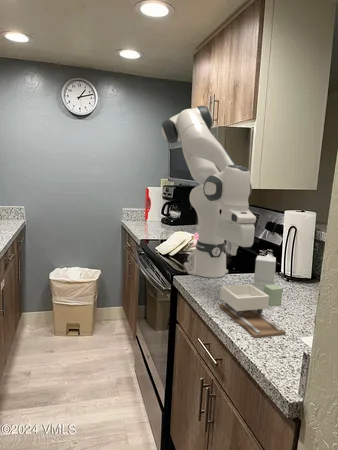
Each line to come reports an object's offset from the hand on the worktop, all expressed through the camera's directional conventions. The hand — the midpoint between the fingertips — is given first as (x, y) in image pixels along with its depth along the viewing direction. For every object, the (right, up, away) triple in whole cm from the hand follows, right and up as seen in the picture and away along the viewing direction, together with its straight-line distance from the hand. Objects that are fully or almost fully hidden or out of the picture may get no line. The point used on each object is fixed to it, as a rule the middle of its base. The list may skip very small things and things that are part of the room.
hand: (231, 254), depth 118 cm
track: (+4, -19, -11) cm, 22 cm away
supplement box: (+15, -15, +17) cm, 28 cm away
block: (+15, -18, +3) cm, 23 cm away
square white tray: (+2, -17, -7) cm, 18 cm away
